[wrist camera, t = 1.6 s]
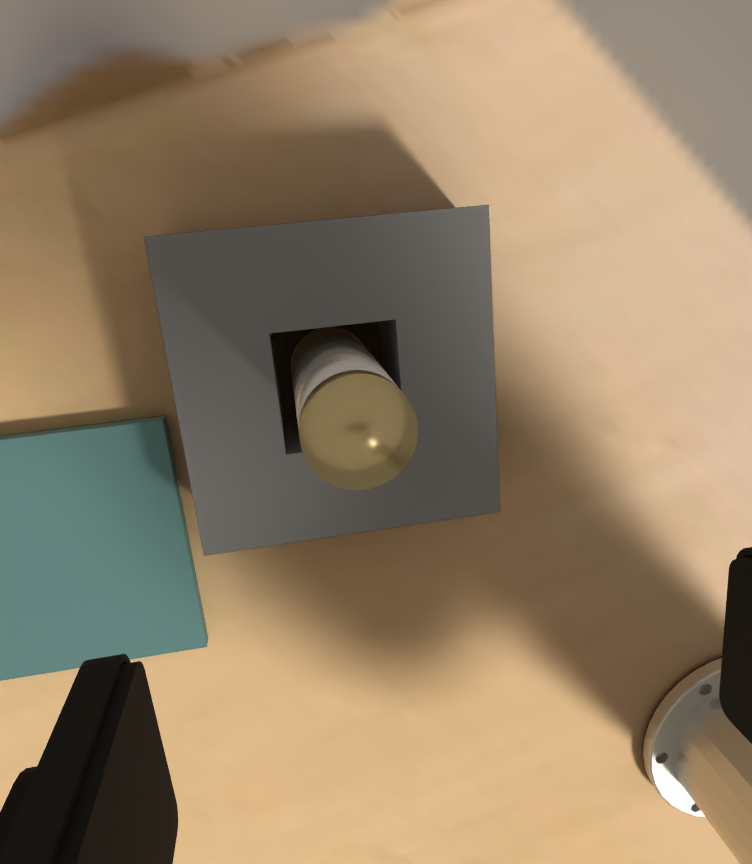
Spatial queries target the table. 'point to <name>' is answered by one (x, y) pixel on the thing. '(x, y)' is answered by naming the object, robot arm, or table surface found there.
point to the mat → (93, 548)
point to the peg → (349, 412)
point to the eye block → (316, 308)
